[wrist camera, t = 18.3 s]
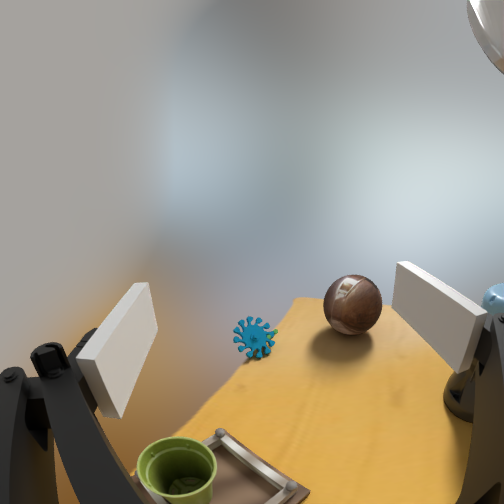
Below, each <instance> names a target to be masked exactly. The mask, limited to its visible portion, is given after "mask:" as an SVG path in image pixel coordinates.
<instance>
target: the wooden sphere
mask: <svg viewBox="0 0 504 504" xmlns="http://www.w3.org/2000/svg"><path fill="white" fill-rule="evenodd" d="M323 307H324V313H325V317H326V319H327V321H328V322H329V324H330V325H331V326H332V327H333V328H334V329H335V330H337V331H339V332H341V333H343V334H348V335H356V334H360V333H363V332H365V331H367V330H369V329H370V328H371V327H372V326H373V325H374V324H375V323H376V322H377V320H378V318H379V316H380V314H381V310H382V297H381V294H380V291H379V289H378V288H377V286H376V285H375V284H374V283H373V282H372V281H371V280H369V279H368V278H366V277H364V276H360V275H347V276H344V277H342V278H340V279H338V280H336V281H335V282H334V283H333V284H332V285H331V286H330V287H329V289H328V291H327V293H326V295H325V298H324V305H323Z"/></svg>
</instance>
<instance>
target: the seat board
mask: <svg viewBox="0 0 504 504" xmlns="http://www.w3.org/2000/svg"><path fill="white" fill-rule="evenodd" d="M215 433H216V434H214V435H212V436H211V437H209V438H207V439H206V440H204V441H202V442H201V443H203V444H205V445H206V446H207V447H208V448H209V449H210V450H211V451H212V452H213V454H214V456H215V458H216V462H217V472H216V476H215V478H214V480H213V482H212V499H211V501H210V502H209V503H208V504H299V503H300V502H301V501H302V500H303V499H304V498H305V497H307V496H308V495H309V494H310V490H308V489H307V488H305V487H303V486H302V485H300V484H299V483H297V482H295V481H294V480H292V479H291V478H289V477H288V476H286V475H285V474H283V473H282V472H280V471H279V470H277V469H276V468H274V467H273V466H271V465H270V464H269V463H267V462H266V461H264V460H263V459H262V458H260V457H259V456H257V455H256V454H255V453H253V452H252V451H251V450H249V449H248V448H247V447H245V446H244V445H243V444H242V443H240V442H239V441H238V440H236V439H235V438H234V437H233V436H231V435H230V434H229V433H228V432H227V431H225V430H224V429H222V428H218V429H216V430H215ZM131 478H132V479H133V481H134V482H135V484H136V485H137V487H138V488H139V489H140V491H141V492H142V494H143V495H144V496H145V498H146V499H147V500H148V502H149V503H150V504H172V503H170V502H169V501H168V500H167V499H166V498H164V497H163V496H160V495H157V494H155V493H153V492H152V491H150V490H149V489H147V488H146V487H145V486H144V485H143V483H142V482H141V480H140V479H139V477H138V474H137V470H136V471H135V475H133V476H131ZM186 481H191V482H195V480H186ZM174 491H175V490H174V489H173V490H172V495H174ZM188 493H191V491H188Z"/></svg>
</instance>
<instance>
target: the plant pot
mask: <svg viewBox="0 0 504 504" xmlns="http://www.w3.org/2000/svg"><path fill="white" fill-rule="evenodd" d="M216 472H217V462H216V458H215V456H214V454H213V452H212V451H211V450H210V449H209V448H208V447H207V446H206V445H205V444H203V443H201V442H200V441H197V440H195V439H192V438H187V437H168V438H164V439H160V440H158V441H156V442H154V443H152V444H150V445H149V446H148V447H147V448H146V449H145V450H144V451H143V452H142V453H141V454H140V456H139V458H138V462H137V474H138V477H139V479H140V480H141V482H142V483H143V485H144V486H145V487H146V488H147V489H149V490H150V491H152V492H153V493H155V494H157V495H160V496H163V497H164V498H166V499H167V500H168V501H169V502H170V503H172V504H208V503H209V502H210V501H211V499H212V482H213V480H214V478H215V476H216ZM186 480H195V482H191V481H186ZM173 489H174V490H175V491H174V495H172V490H173ZM188 491H191V493H188Z"/></svg>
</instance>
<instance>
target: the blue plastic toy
mask: <svg viewBox="0 0 504 504" xmlns="http://www.w3.org/2000/svg"><path fill="white" fill-rule="evenodd" d="M252 320H253V317H247V322H248V325H247V327H245V326H244V323H245V322H244V320H240V321H239V322H238V324H239V325H240V326H241V327H242V329H243V332H240V329H239V328H238V327H236V328H235V329H234V330H233V331H234V333H237V334H239V335H240V336H241V337H242V340H241V339H239V337H234V339H233V341H234V343H237V342H242V343H244V344H245V346H239V347H238V350H239V352H242V351H243V350H244V349H246V348H250V349H251V351H249V352H247V353H246V356H247V357H249V358H250V357H252V356H253V351H254V350H255V349H257V350H258V353H257V354H256V357H257V358H261V357H262V356H263V355H262V352H261V349H262V347H264V349H265V350H264V353H265V354H268V353H270V352H271V350H270V349H269V348H268V347H267V345H266V342H268V344H269V346H270V347H272V346H273V345H274V344H275V342H274V341H272V340H271V339H272V338H273V337H274V335H275V334H277V333H278V330H277V329H275V330H273V331H271V332H266V331H264V330H263V328H265V329H268V328H269V327H270V325H269V324H268V323H266V324H265V325H264V326H261V327H259V326H258V325H257V324H258V323H260V322H262V319H261V318H257V319H256V323H255V324H254V325H251V321H252Z"/></svg>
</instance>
